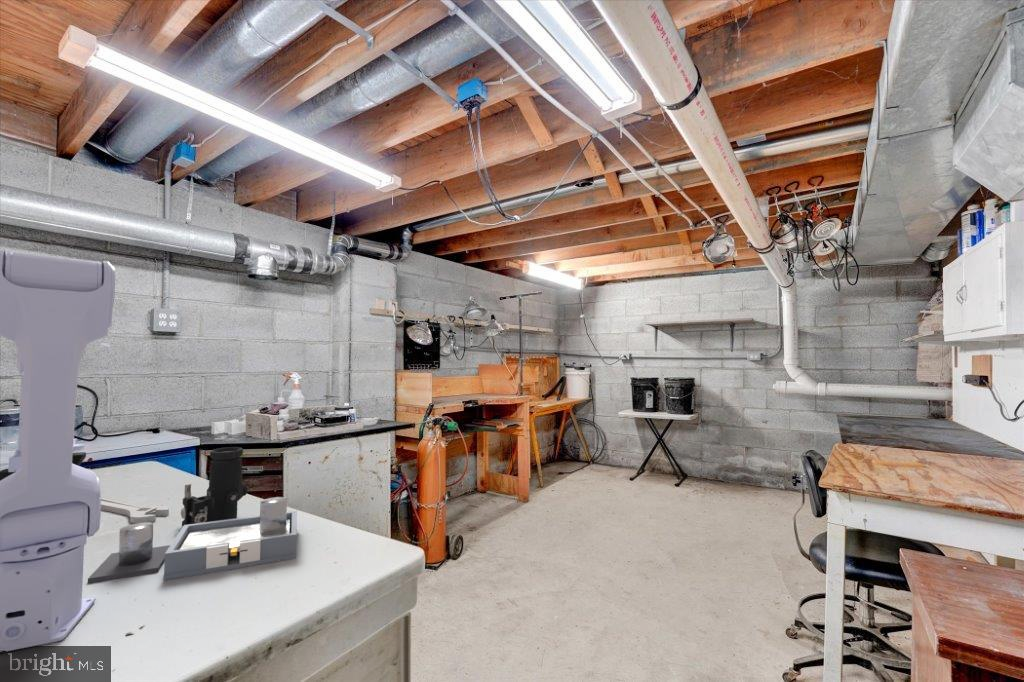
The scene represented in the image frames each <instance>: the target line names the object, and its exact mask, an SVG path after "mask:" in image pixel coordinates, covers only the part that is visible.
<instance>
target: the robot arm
mask: <svg viewBox="0 0 1024 682" xmlns="http://www.w3.org/2000/svg"><path fill="white" fill-rule="evenodd" d="M115 295H116V269H115V266H113V265H112V264H111V263H110V261H107V260H102V261H95V260H85V259H77V258H69V257H62V256H61V257H60V256H54V255H53V256H51V255H42V254H34V253H24V252H17V251H10V250H9V251H6V249H5V248H0V336H1V337H3V338H5V339H8V340H11V341H12V342H14V344H15V345H16V348H17V361H16V364H17V366H16V367H17V371H18V374H19V375H21V374H23V375H21V377H20V378H21V380H20V397H19V398H20V400H19V416H18V417H19V418H18V420H19V422H18V440H17V441H18V442H17V449H15V451H14V454H13V456H10V457H9V458H8V468H4V469H1V470H0V650H5V651H6V652H10V651H15V650H20V649H25V648H30V647H36V646H40V645H46V644H51V643H56V642H59V641H62V640H64V639H65V638H66V637H67V636H68V634H69V633H70V632H71V631H72V630H73V628H75V626H76V624H77V623H78V622H79V621H80V620H81V619H82V617H83V616H84V615H85V614H86V612H87V611H88V610H89V609H90V608H91V607H92V605H93V604H94V603H95V601H96V600H97V599H96V598H97V597H95V596H91V597H85V598H84V597H83V585H84V584H83V583H84V581H83V579H84V560H85V559H84V557H85V556H84V555H85V554H84V553H85V545H87V538H89V537H94V535H95V534H96V533H97V532H98V531H100V526H101V517H102V516H101V515H102V512H101V511H102V510H101V498H102V497H101V494H102V493H101V481H100V477H98V476H97V473H96V472H95V471H93V470H91V469H88V468H85V467H82V466H81V465H82V463H83V462H84V461H85V459H86V456H87V452H85V451H81V450H83V449H84V447H85V444H84V443H79V444H78V438H75V422H76V421H75V420H76V407H77V406H76V405H77V392H78V390H77V389H78V382H79V381H78V380H79V374H80V369H81V367H82V358H83V356H84V353H85V351H86V348H87V346H88V344H90V343H92V342H94V341H98V340H100V339H103V338H105V337H108V335H109V328H111V327H112V323H113V322H112V320H113V310H114V303H115V297H116V296H115ZM75 451H76V452H75ZM77 451H78V452H77Z"/></svg>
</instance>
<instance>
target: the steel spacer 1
mask: <svg viewBox="0 0 1024 682" xmlns="http://www.w3.org/2000/svg"><path fill="white" fill-rule="evenodd" d="M118 538H119V540H118V541H119V542H118V546H119V547H118V552H119V565H120V566H131V565H136V564H140V563H143V562H145V561H148V560H149V559H151V558H152V554H153V548H154V542H153V541H154V522H144V523H137V524H134V523H131V524H128V525H125V526H123V527H121V528H120V529H119V537H118Z"/></svg>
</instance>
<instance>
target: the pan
mask: <svg viewBox="0 0 1024 682" xmlns="http://www.w3.org/2000/svg"><path fill="white" fill-rule="evenodd" d="M289 532H290V519H287V522H286V530H285V531H284V532H281V533H279V534H274V535H262V534H260V523H254V524H247V525H239V526H232V527H224V528H216V529H209V530H201V531H194V532H190V533H189V535H188V537H187V538H186V540H185V542H184V543H183V545H182V546H181V548H180V549H187V548H194V547H201V546H208V545H215V544H222V543H228V542H229V553H231V556H235V555H237V553H238V552H240V541H242V540H249V539H256V538H263V537H270V536H277V535H284V534H289Z"/></svg>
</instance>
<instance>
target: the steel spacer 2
mask: <svg viewBox="0 0 1024 682" xmlns="http://www.w3.org/2000/svg"><path fill="white" fill-rule="evenodd" d="M259 507H260V509H259V516H260V534H262V535H274V534H279V533H281V532H284V531H285V530H286V522H287V512H288V509H287V508H288V498H286V497H285V496H284V497H282V496H275V497H268V498H265V499H262V500H261V501H260V505H259Z"/></svg>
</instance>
